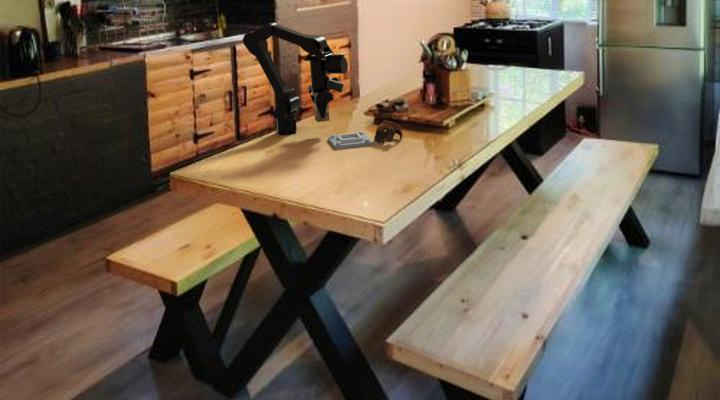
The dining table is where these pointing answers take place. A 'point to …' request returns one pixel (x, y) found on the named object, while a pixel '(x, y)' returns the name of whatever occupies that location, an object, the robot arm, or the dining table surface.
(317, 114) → the block
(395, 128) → the pottery mug
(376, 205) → the dining table surface
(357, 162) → the dining table surface
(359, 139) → the board
